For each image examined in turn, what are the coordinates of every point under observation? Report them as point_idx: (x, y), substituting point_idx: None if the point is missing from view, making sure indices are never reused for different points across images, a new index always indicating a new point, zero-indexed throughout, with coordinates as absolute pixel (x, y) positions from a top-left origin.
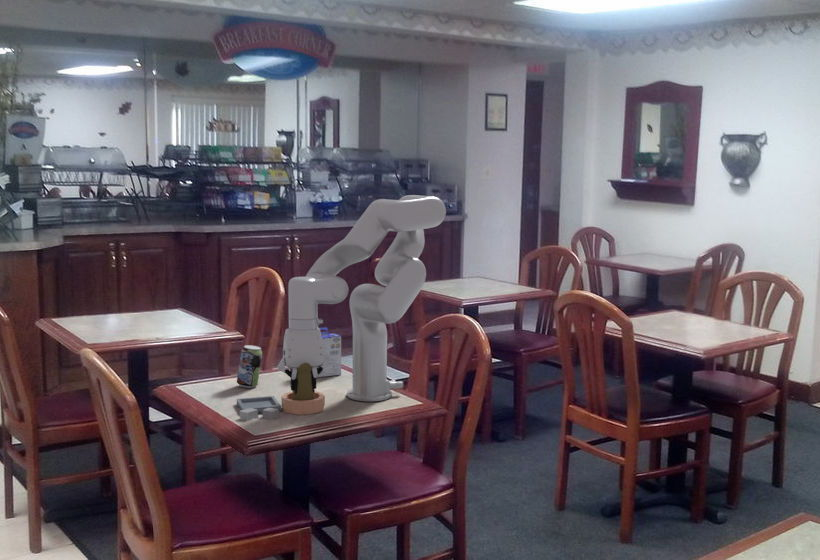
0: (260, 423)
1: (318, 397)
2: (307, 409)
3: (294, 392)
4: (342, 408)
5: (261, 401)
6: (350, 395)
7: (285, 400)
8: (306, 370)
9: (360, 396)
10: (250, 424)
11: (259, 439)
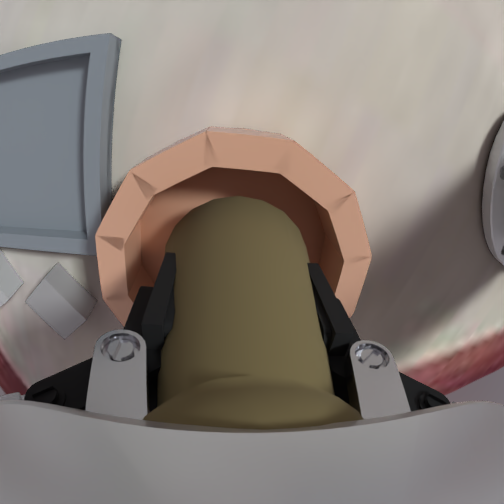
0: (40, 345)
1: None
2: None
3: None
4: (393, 295)
5: (46, 73)
6: (491, 196)
7: (112, 307)
8: None
9: (502, 234)
10: (15, 339)
11: None
